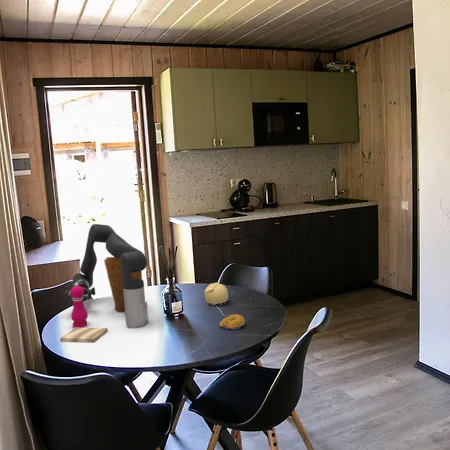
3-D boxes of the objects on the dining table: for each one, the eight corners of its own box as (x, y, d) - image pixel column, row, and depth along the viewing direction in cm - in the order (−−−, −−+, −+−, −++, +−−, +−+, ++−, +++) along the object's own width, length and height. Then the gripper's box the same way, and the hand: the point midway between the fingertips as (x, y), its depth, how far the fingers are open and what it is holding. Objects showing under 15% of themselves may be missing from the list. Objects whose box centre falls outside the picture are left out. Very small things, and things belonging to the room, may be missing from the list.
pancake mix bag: (142, 314, 230) (137, 257, 226) (107, 312, 236) (102, 256, 232) (148, 310, 236) (144, 254, 233) (114, 308, 242) (110, 254, 238)
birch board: (107, 331, 208) (107, 328, 208) (94, 342, 195) (93, 338, 195) (76, 330, 211) (75, 327, 211) (60, 341, 198) (60, 338, 198)
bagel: (219, 323, 211) (219, 313, 211) (244, 322, 211) (244, 312, 210) (219, 331, 201) (218, 320, 201) (245, 330, 201) (244, 320, 200)
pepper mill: (83, 328, 213) (79, 284, 211) (69, 328, 215) (64, 284, 212) (91, 323, 220) (87, 280, 218) (77, 322, 222) (73, 280, 219)
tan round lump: (207, 300, 248) (206, 280, 246) (230, 300, 246) (229, 280, 245) (203, 307, 236) (201, 286, 235) (227, 307, 235) (225, 285, 233)
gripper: (65, 282, 239) (62, 290, 224) (95, 279, 243) (94, 287, 227) (67, 297, 240) (64, 305, 225) (96, 293, 243) (95, 302, 228)
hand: (79, 296), depth 226 cm, fingers open, 8 cm apart
